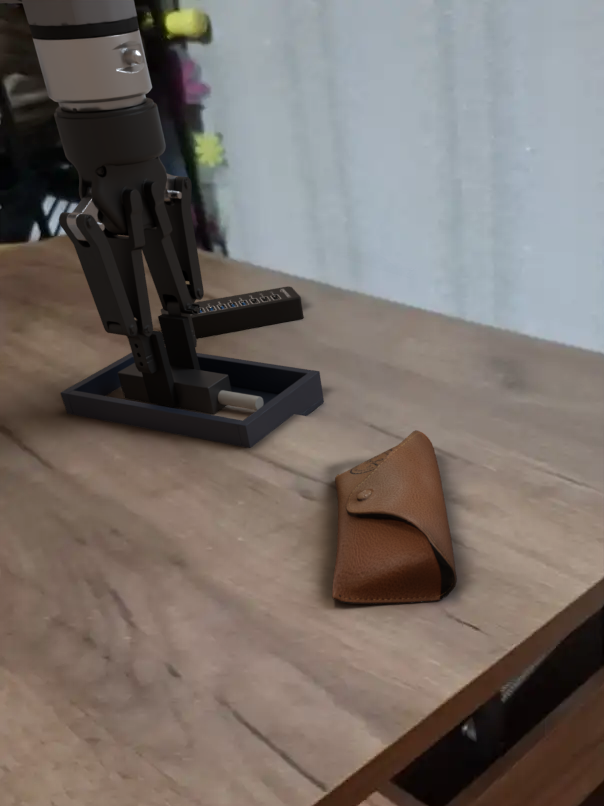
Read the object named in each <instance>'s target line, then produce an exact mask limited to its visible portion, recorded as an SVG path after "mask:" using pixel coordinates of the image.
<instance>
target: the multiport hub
mask: <svg viewBox="0 0 604 806" xmlns="http://www.w3.org/2000/svg"><path fill="white" fill-rule="evenodd" d="M193 304H199V305H200V312H199V313H198V314H197V315H192V314H191V318H192V323H193V327H194V331H195V336H196V339H199V338H205V337H210V336H215V335H222V334H226V333H227V334H228V333H232V332H237V331H243V330H248V329H255V328H259V327H264V326H271V325H275V324H276V325H277V324H281V323H285V322H292V321H298V320H302V319H304V318H305V317H304V309H303V304H302V297H301V295H300V294H299V293H298V292H297V291H296V290H295V289H294V288H293V287H292V286H282V287H277V288H270V289H265V290H258V291H253V292H248V293H242V294H236V295H230V296H224V297H218V298H212V299H207V300H202V301H201V300H199V301H195V302H194V303H193ZM162 314H168V311H165V310H164V309H163V307H162V308H161V309H160V315H162Z"/></svg>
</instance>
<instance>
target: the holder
mask: <svg viewBox="0 0 604 806" xmlns="http://www.w3.org/2000/svg"><path fill="white" fill-rule="evenodd" d="M196 353H197V358H198V362H199V366H200V370H202V371H208V372H214V373H220V374H226V375H228V376H229V381H230V386H231V391H232V392H235V393H241V394H247V395H253V396H259V397H262V399H263V406H262V407H261V408H260V409H258V410H254V412H253V413H251V414H250V415H249V416H247V417H246V418H244V419H236V418H231V417H226V416H220V415H216V414H214V415H213V414H208V413H202V412H197V411H191V410H185V409H180V408H174V407H169V406H163V405H158V404H152V403H147V402H141V401H135V400H130V399H125V398H119V397H114V396H113V397H112V396H108V395H110V394H111V393H113V392H115V391H116V390H118V389H120V388H122V387H121V384H120V380H119V377H118V372H119V371H121V370H123V369H125V368H126V367H128V366H130V365H132V364H133V363H135V362H134V361H135V360H134V358H133V354H132V352H130V353H128V354H126V355H124V356H123V357H121V358H119V359H117V360H116V361H114V362H112V363H111V364H108V365H106V366H105V367H103V368H101V369H99V370H98V371H96V372H94V373H92V374H91V375H89V376H87V377H86V378H83V379H82V380H80V381H78V382H76V383H75V384H72V385H71V386H69V387H68V388H66V389H64V390H62V391H60V392H59V393H60V396H61V399H62V402H63V403H62V404H63V406H64V409H65V412H66V414H67V415H74V416H78V417H83V418H88V419H93V420H100V421H105V422H110V423H114V424H115V423H116V424H120V425H125V426H130V427H131V426H132V427H135V428H136V427H137V428H143V429H147V430H151V431H157V432H164V433H168V434H174V435H179V436H185V437H189V438H194V439H200V440H204V441H205V440H206V441H211V442H217V443H221V444H226V445H233V446H236V447H242V448H248V449H251V448H252V447H253V446H255V445H256V444H258V443H260V441H262V440H263V439H264V438H265V437H267V436H268V435H269V434H270V433H272V432H273V431H274V430H276V429H277V428H278V427H279V426H281V425H282V424H283V423H285V422H286V421H288V419H290V418H291V417H292V416H294V415H296V416H297V415H298V416H303V417H307V416H308V415H310V414H311V413H312V412H313V411H315V410H316V409H317V408H319V407H320V406H321V405H322V404H324V403H325V399H324V393H323V386H322V385H323V384H322V377H321V372H320V370H314V369H306V368H301V367H293V366H287V365H281V364H273V363H266V362H260V361H255V360H248V359H240V358H234V357H227V356H222V355H214V354H208V353H201V352H196Z"/></svg>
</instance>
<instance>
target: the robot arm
mask: <svg viewBox="0 0 604 806" xmlns="http://www.w3.org/2000/svg"><path fill="white" fill-rule="evenodd" d="M0 4H22V7H23V9H24V14H25V16H26V20H27V24H29V31H30V34H31V37H32V41H33V44H34V48H35V52H36V56H37V59H38V64H39V66H40V70H41V73H42V74H41V75H42V77H43V81H44V82H43V83H44V85H45V89H46V91H47V92H46V93H47V96H48V98H49V99H50V100H52V101H53V102H56V103H58V106H57V107H56V108H55V112H54V113H53V116H54V121H55V123H56V128H57V131H58V134H59V139H60V141H61V144H62V149H63V152H64V155H65V158H66V159H67V161H68V162H69V163H71V164H72V165H73V166H74V168H75V169H76V171H77V173H78V180H79V182H78V183H79V184H78V185H79V186H78V194H79V197H80V201H79V203H78V204H77V205H76V207H75V208H74V209H73V211H72V212H67V211H63V212H61V213H60V214H59V216H58V223H59V225H60V227H61V228H62V230H63V231H64V233H65V234H66V236H67V237H68V238H69V240H70V241H71V243H72V244H73V247H74V250H75V252H76V255H77V257H78V260H79V263H80V266H81V268H82V271H83V274H84V277H85V281H86V282H87V285H88V287H89V292H90V293H91V296H92V299H93V301H94V304H95V307H96V310H97V313H98V316H99V318H100V321H101V323H102V327H103V330H104V331H105V332H106V333H107V334H112V335H119V336H126V338H127V339H128V343H129V347H130V350H131V353H132V354H133V358H134V360H135V361H134V362H135V365H136V368H137V369H138V371H139V372H142V376H143V379H144V383H145V387H146V390H147V394H148V398H149V401H150V403H149V404H152V403H155V404H154V405H158V404H160V405H159V406H163V405H166V406H165V407H169V406H172V407H171V408H174V407H175V406H176V405H178V404H179V401H178V397H177V393H176V389H175V385H174V379H173V375H172V371H171V367H170V365H171V366H177V367H183V368H189V369H195V370H200V366H199V362H198V358H197V353H198V352H197V345H198V344H197V342H198V341H197V338H196V336H195V331H194V327H193V323H192V318H191V314H192V315H197V314H198V313H199V312H200V305H199V304H193V303H195V302H197V301H201V300H202V299H203V298H204V296H205V295H204V294H205V291H204V284H203V278H202V271H201V265H200V259H199V252H198V246H197V240H196V234H195V227H194V221H193V215H192V209H191V208H192V207H191V206H192V205H191V204H192V188H193V187H192V186H193V185H192V181H191V179H190V178H189V176H180V175H173V174H169V173H167V169H166V167H165V165H164V164H163V162H162V160H161V159H160V156H162V155H163V154H164V153H165V151H166V147H167V145H166V139H165V136H164V130H163V127H162V121H161V117H160V113H159V107H158V104H157V103H156V102H154V100H153V99H152V98H150V97H146V95H147V94H148V93H149V92H151V90H152V89H153V85H152V80H151V76H150V71H149V68H148V63H147V59H146V55H145V49H144V45H143V41H142V36H141V32H140V25H139V21H138V14H137V10H136V9H137V8H136V5H135V4H136V3H135V0H0ZM143 256H144V259H143ZM144 260H145V262H146V266H147V268H148V271H149V273H150V277H151V280H152V281H153V286H154V287H155V290H156V293H157V296H158V299H159V302H160V304H161V306H162V308H163V309H164V310H165V311H168V314H159V315H158V316H157V319H158V322H159V326H160V330H161V331H160V330H154V324H153V318H152V311H151V304H150V298H149V297H150V296H149V291H148V285H147V277H146V271H145V265H144ZM187 282H188V283H187Z"/></svg>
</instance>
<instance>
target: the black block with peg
mask: <svg viewBox="0 0 604 806" xmlns="http://www.w3.org/2000/svg"><path fill="white" fill-rule="evenodd" d="M170 367H171V371H172V375H173V379H174V385H175V389H176V393H177V397H178V401H179V404H178V405H176V406H175V407H172V406H168V407H170V408H175V409H181V410H187V411H192V412H198V413H204V414H209V415H216V414H217V413H218V412H220V411H221V410H223V409H225V408H226V407H227V406H229V407H236V408H240V409H246V410H253V411H257V410H258V409H260V408H261V407H262V406H263V399H262V397H259V396H253V395H247V394H241V393H235V392H232V391H231V386H230V381H229V376H228V375H226V374H220V373H214V372H208V371H202V370H195V369H189V368H183V367H177V366H171V365H170ZM118 377H119V380H120V384H121V387H120V388H121V390H122V394H123V399H125V400H130V401H136V402H142V403H147V404H153V405H156V404H155V403H150V401H149V398H148V394H147V390H146V387H145V383H144V379H143V376H142V372H139V371H138V369H137V368H136V365H135V363H133V364H132V365H130V366H128V367H126V368H125V369H123V370H121V371H119V372H118ZM157 405H159V406H161V405H160V404H157ZM162 406H164V407H167V406H166V405H162Z"/></svg>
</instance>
